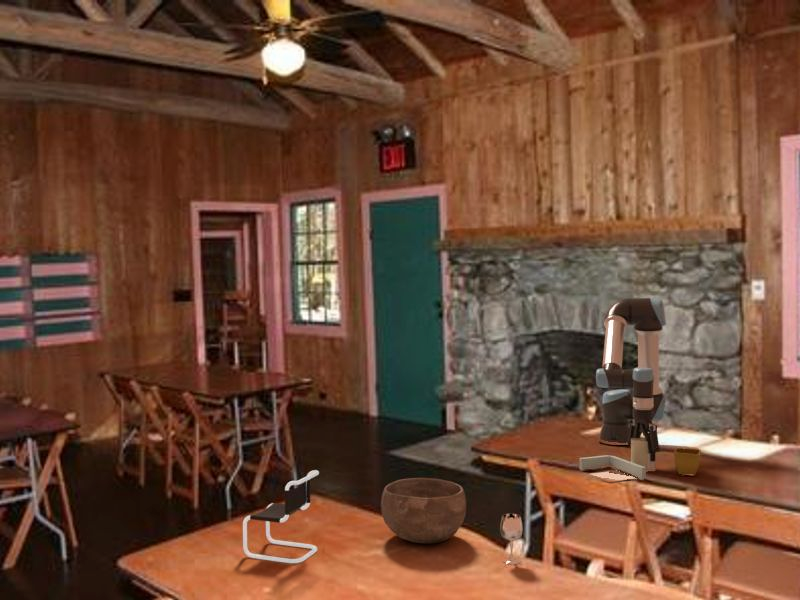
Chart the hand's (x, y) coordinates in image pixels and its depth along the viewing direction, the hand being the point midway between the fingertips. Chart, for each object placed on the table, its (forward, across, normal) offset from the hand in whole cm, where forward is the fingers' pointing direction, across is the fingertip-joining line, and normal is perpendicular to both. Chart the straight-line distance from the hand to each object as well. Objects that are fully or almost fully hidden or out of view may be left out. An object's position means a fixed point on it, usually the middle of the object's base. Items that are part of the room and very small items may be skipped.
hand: (643, 466), depth 304 cm
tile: (+1, +6, -18) cm, 19 cm away
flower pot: (+1, +13, +10) cm, 16 cm away
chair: (+1, +39, -148) cm, 153 cm away
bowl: (+1, +43, -108) cm, 116 cm away
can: (+1, 0, 0) cm, 1 cm away
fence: (+1, +2, -16) cm, 16 cm away
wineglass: (+1, +68, -93) cm, 115 cm away
